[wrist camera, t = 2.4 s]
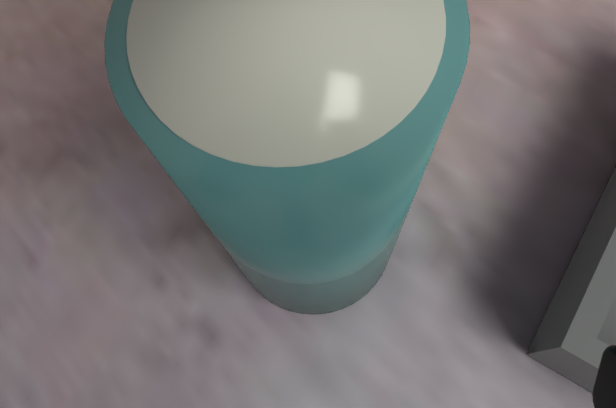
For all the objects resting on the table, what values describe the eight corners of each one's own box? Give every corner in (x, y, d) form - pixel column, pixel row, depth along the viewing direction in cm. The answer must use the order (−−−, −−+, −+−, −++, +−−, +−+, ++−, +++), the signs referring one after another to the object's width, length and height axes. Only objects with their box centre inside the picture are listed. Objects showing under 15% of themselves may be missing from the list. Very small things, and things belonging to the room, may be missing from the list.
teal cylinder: (340, 346, 19) (350, 267, 7) (206, 261, 20) (26, 76, 8) (419, 211, 21) (534, -37, 9) (290, 140, 22) (237, -159, 10)
